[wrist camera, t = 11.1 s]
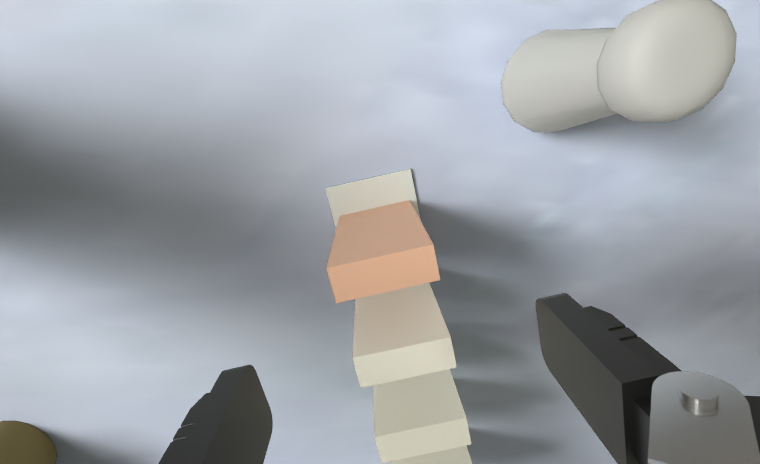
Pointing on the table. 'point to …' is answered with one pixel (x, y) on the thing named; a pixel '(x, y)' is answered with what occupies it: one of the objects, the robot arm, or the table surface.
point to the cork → (24, 444)
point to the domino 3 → (418, 416)
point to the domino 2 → (400, 336)
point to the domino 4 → (439, 457)
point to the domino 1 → (380, 252)
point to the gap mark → (371, 193)
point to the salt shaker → (622, 68)
